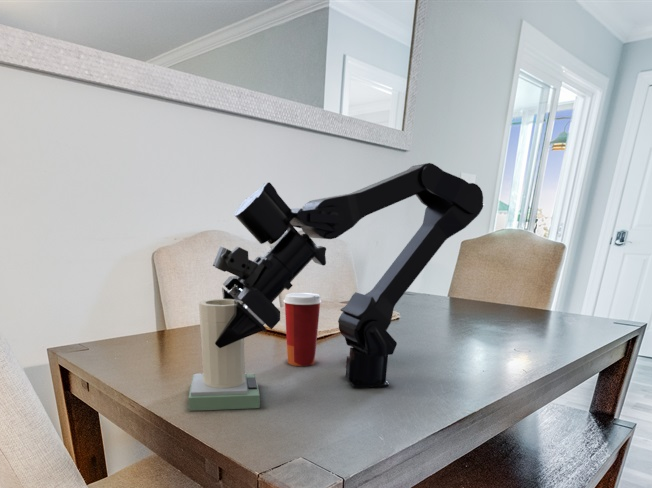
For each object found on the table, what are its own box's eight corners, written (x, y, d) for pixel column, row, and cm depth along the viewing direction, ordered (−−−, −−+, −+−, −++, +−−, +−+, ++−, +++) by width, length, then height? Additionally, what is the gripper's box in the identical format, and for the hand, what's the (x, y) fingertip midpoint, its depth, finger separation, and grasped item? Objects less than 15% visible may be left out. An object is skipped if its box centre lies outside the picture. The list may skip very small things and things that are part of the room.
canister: (236, 372, 81) (234, 297, 76) (251, 384, 75) (250, 304, 70) (198, 378, 78) (193, 300, 73) (211, 390, 72) (207, 307, 67)
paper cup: (325, 361, 98) (328, 294, 93) (308, 370, 92) (310, 298, 87) (294, 355, 102) (295, 290, 97) (275, 363, 96) (275, 295, 90)
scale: (255, 385, 83) (254, 370, 82) (259, 408, 73) (259, 391, 72) (193, 387, 82) (192, 372, 81) (189, 410, 72) (188, 394, 70)
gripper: (233, 226, 77) (171, 295, 78) (257, 227, 60) (177, 315, 61) (279, 273, 82) (219, 338, 83) (312, 287, 65) (237, 367, 66)
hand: (213, 338), depth 73 cm, fingers open, 9 cm apart
